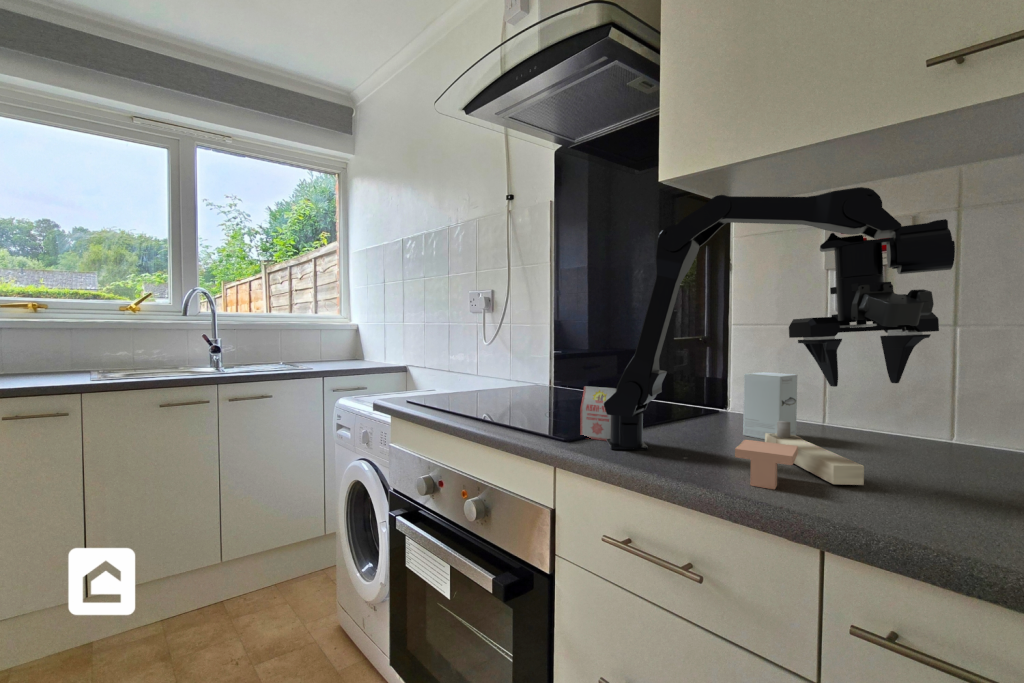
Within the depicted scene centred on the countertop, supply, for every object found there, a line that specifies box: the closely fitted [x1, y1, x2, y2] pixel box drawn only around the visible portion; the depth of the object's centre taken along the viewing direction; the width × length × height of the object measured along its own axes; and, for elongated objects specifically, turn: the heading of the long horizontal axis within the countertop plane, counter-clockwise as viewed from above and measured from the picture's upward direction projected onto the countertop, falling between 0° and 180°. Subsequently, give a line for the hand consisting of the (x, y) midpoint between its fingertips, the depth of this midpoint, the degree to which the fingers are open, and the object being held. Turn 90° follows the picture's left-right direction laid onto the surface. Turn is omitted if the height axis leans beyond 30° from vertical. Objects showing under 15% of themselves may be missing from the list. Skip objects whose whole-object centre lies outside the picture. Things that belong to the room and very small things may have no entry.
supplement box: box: [742, 371, 798, 440], centre depth 99 cm, size 7×7×13 cm
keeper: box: [734, 439, 798, 490], centre depth 70 cm, size 7×7×5 cm
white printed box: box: [579, 385, 617, 442], centre depth 98 cm, size 4×7×10 cm, turn 57°
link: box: [764, 421, 865, 486], centre depth 77 cm, size 21×5×5 cm, turn 177°
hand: (864, 384), depth 72 cm, fingers open, 9 cm apart
